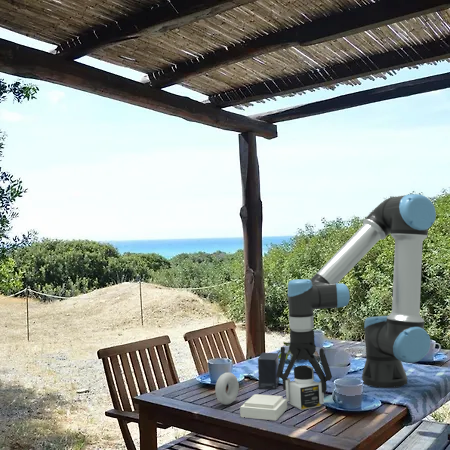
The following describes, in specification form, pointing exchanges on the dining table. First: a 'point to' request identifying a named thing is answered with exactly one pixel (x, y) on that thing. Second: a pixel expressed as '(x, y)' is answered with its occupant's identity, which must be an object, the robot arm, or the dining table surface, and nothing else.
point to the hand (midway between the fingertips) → (305, 401)
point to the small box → (268, 370)
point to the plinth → (264, 407)
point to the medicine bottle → (304, 388)
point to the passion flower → (288, 351)
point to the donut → (221, 388)
